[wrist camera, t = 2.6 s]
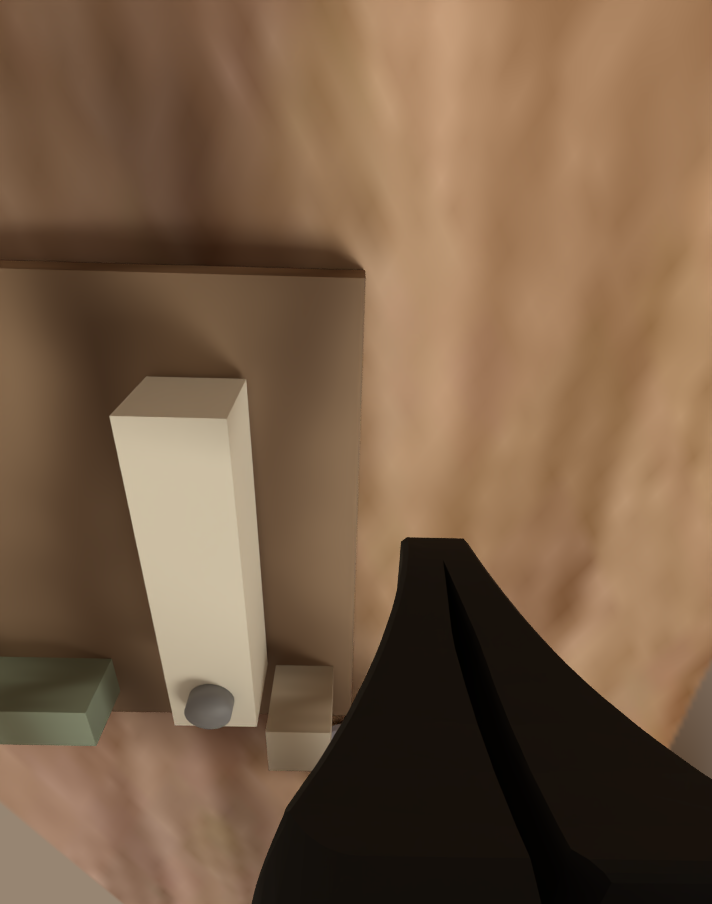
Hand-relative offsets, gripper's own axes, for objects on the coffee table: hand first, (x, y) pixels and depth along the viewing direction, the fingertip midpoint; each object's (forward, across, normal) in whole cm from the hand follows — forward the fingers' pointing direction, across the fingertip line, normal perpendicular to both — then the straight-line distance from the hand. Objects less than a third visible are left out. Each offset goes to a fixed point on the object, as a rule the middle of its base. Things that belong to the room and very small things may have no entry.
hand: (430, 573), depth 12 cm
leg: (+6, +6, +4) cm, 10 cm away
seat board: (+8, +11, +5) cm, 14 cm away
